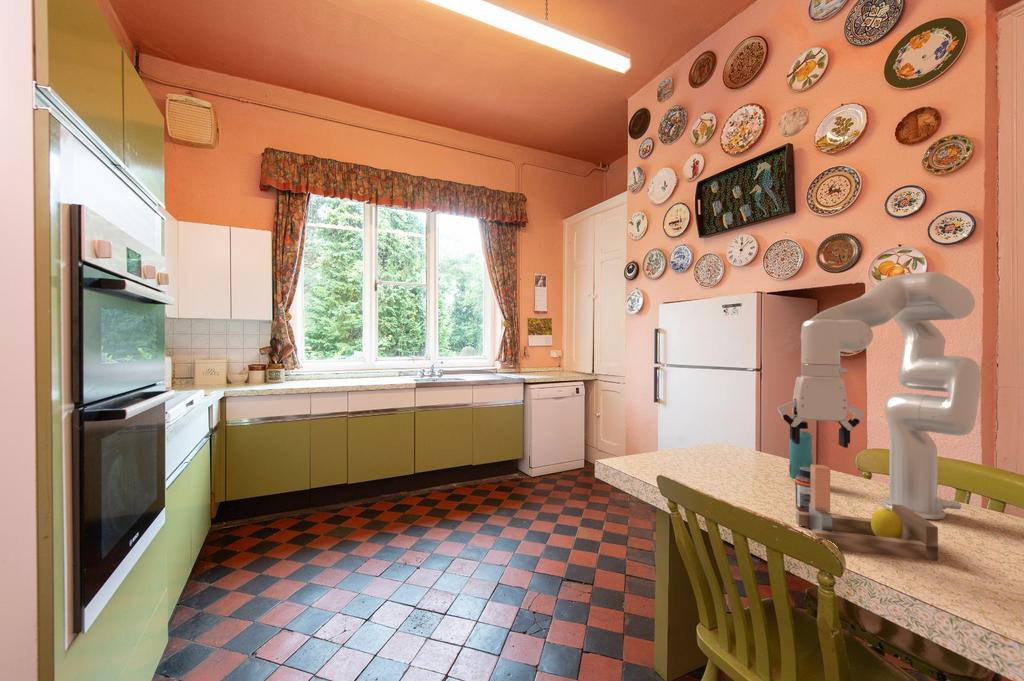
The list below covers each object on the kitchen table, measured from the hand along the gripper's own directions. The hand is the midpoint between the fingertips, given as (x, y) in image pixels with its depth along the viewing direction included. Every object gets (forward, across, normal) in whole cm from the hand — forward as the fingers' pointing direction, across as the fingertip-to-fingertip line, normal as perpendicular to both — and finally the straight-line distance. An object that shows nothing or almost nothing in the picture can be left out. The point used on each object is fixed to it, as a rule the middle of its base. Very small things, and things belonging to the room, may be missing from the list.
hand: (819, 444), depth 103 cm
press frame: (+21, -9, 0) cm, 23 cm away
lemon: (+22, -14, 0) cm, 25 cm away
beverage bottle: (+21, -10, -44) cm, 49 cm away
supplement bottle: (+22, -4, -18) cm, 28 cm away
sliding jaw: (+21, -1, 0) cm, 21 cm away
